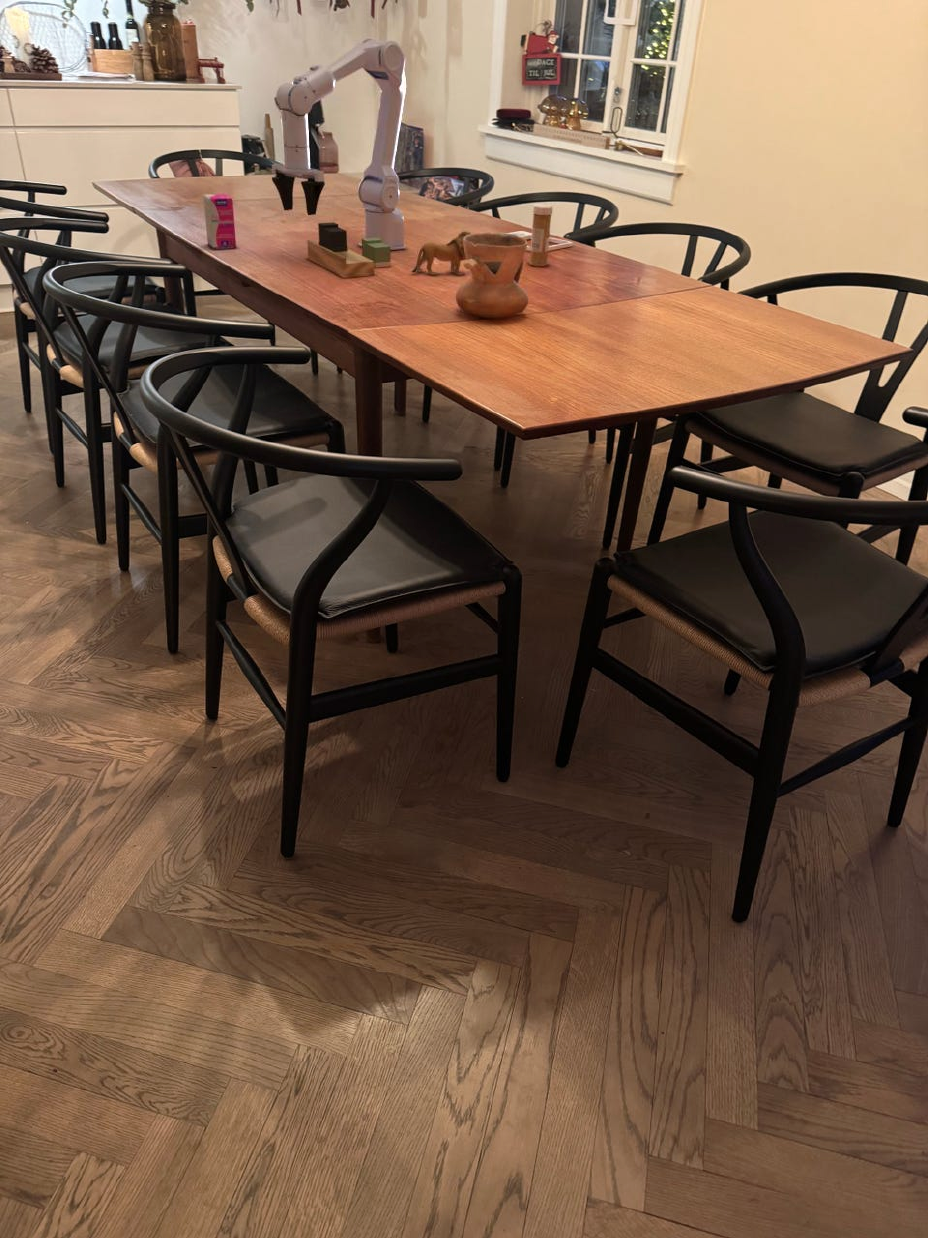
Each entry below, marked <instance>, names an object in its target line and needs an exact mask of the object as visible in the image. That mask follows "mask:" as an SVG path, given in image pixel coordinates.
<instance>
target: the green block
mask: <svg viewBox="0 0 928 1238" xmlns="http://www.w3.org/2000/svg"><path fill="white" fill-rule="evenodd" d="M381 242H382V240H381V239H378V238H366V239H365V238H361V243H362V246H361V255H362V256H364V257H366V258H368V259H370V260H372V261H374V269H375V268H376V269H377V268H388V267H391V266H392V262H391V259H392V257H391V250H390V246H388V245H386V244H384V243H381Z"/></svg>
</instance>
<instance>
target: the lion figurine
mask: <svg viewBox="0 0 928 1238" xmlns="http://www.w3.org/2000/svg"><path fill="white" fill-rule="evenodd" d="M470 234H472V232H470V231H468V230H463V231H461V232H460V233H458V235H457V236H456V237H455V238H452V240H450V241H449V242H447V243H445V244H442V243H436V242H433V241H432V242H431V241H429V242H426V243H424V244H423V245H422V246H421V248H420V249H419V252H418V254H417V259H416V264H415V266H414V268H413V269H412V270H411V273H416V272H418V273H423V272H424V270H423V268H421V266H422V265H423V264H425V263H427V265H426V269H427V271H428V272H429V276H436V275H437V274H436V272H435V271H433V269H432V266H433V263H434V261H435V259H437V260H438V261H440V262H450V272H451V273H453V274H455V275H456V276H462V272H460V267H461V262H462V261H467V260H466V256H465V252H464V246H463V238H464V237H465V236H467V235H470Z"/></svg>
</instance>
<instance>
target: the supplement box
mask: <svg viewBox="0 0 928 1238" xmlns="http://www.w3.org/2000/svg"><path fill="white" fill-rule="evenodd" d="M202 200H203V201H202V202H203V211H204V220H205V230H206V231H205V233H206V241H207V245H208V246H209V247H210V248H211V249H212V250H227V249H237V238H236V228H235V227H236V225H235V215H234V214H235V213H234V203H233V198H232V197H231V196H229V195H228V194H227V193H207V194H206V193H205V194H204V193H203V194H202Z"/></svg>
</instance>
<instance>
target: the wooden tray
mask: <svg viewBox="0 0 928 1238" xmlns="http://www.w3.org/2000/svg"><path fill="white" fill-rule="evenodd" d="M306 242H307V259H308V260H310V261H312V262H314V263H315V264H317V265H319V266H321V267H322V268H325V270H328V271H330V272H332V273H334V274H336V275H338V276H339V277H341V278H344V279H349V278H358V277H369V276H375V267H374V261H372V260H370V259H368V258H366V257H364V256H362V254H360V253H357V252H355V251H353V250H351V249H349V248H347V250H348V251H343V252H333V251H331V250H329V249H327V248H325V247H323V246H321V245H319V243H317V242H314V241H313V240H311V239H307V241H306Z"/></svg>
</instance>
